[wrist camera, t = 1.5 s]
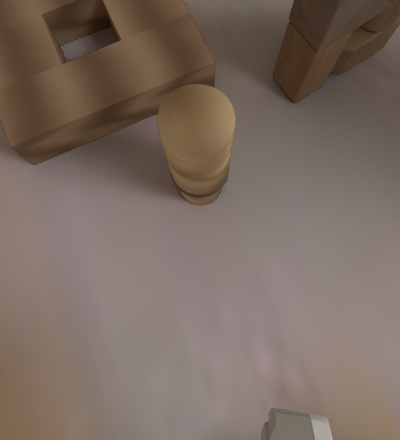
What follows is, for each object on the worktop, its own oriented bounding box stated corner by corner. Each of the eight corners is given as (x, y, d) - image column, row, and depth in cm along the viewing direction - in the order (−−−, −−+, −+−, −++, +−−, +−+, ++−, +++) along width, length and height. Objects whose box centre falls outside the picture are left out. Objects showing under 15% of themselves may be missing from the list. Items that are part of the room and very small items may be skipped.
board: (149, -38, 37) (142, -77, 33) (214, 89, 34) (215, 62, 30) (-17, 27, 36) (-45, -6, 32) (34, 165, 32) (10, 147, 28)
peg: (213, 153, 32) (215, 71, 21) (234, 196, 31) (250, 137, 20) (167, 172, 32) (143, 101, 20) (187, 217, 31) (175, 169, 19)
